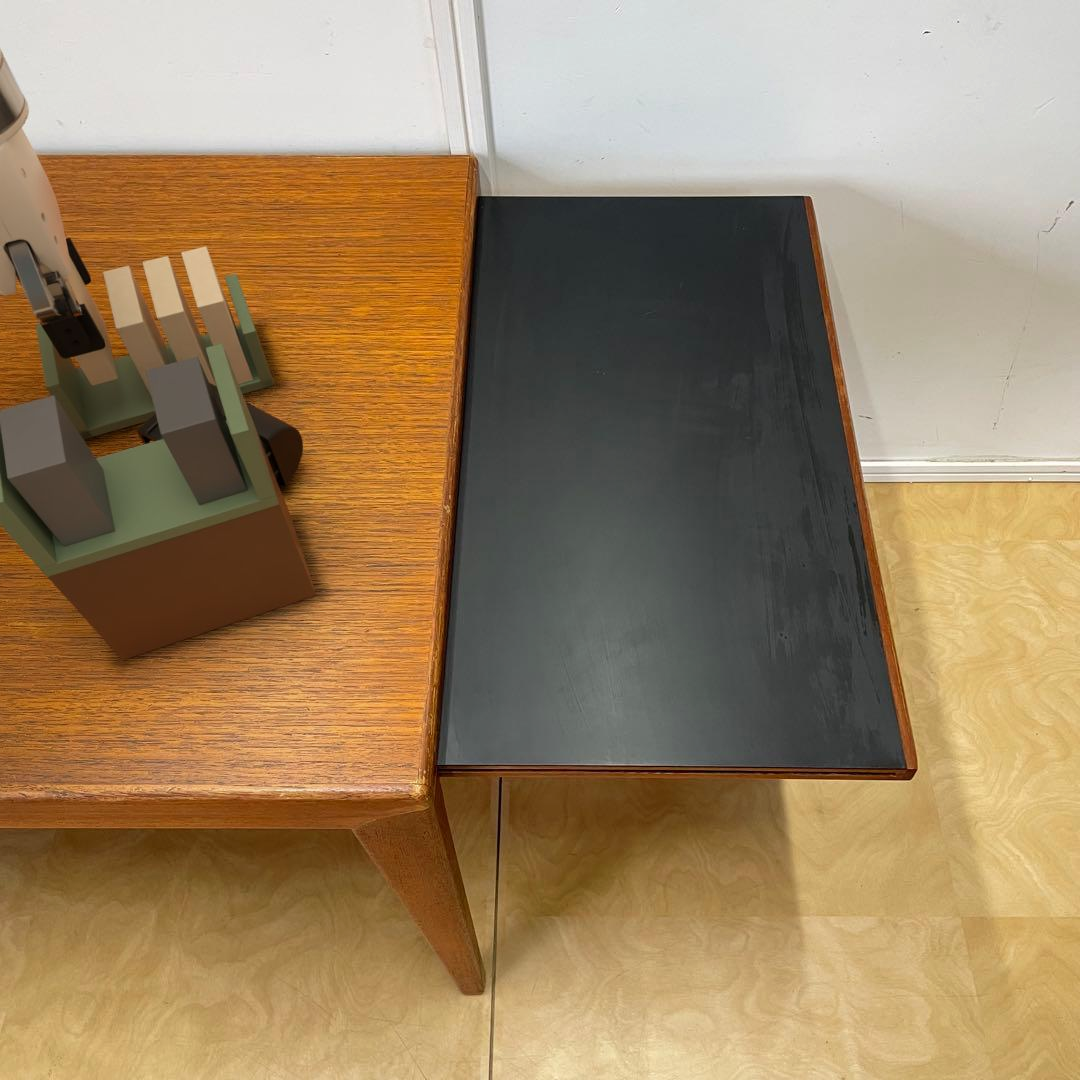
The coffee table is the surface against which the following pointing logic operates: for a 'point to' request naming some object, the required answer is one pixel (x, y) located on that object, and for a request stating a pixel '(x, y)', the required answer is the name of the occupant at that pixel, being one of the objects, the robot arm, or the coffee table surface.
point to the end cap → (273, 433)
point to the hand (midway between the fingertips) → (76, 316)
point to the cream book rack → (157, 343)
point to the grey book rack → (155, 513)
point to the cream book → (101, 361)
